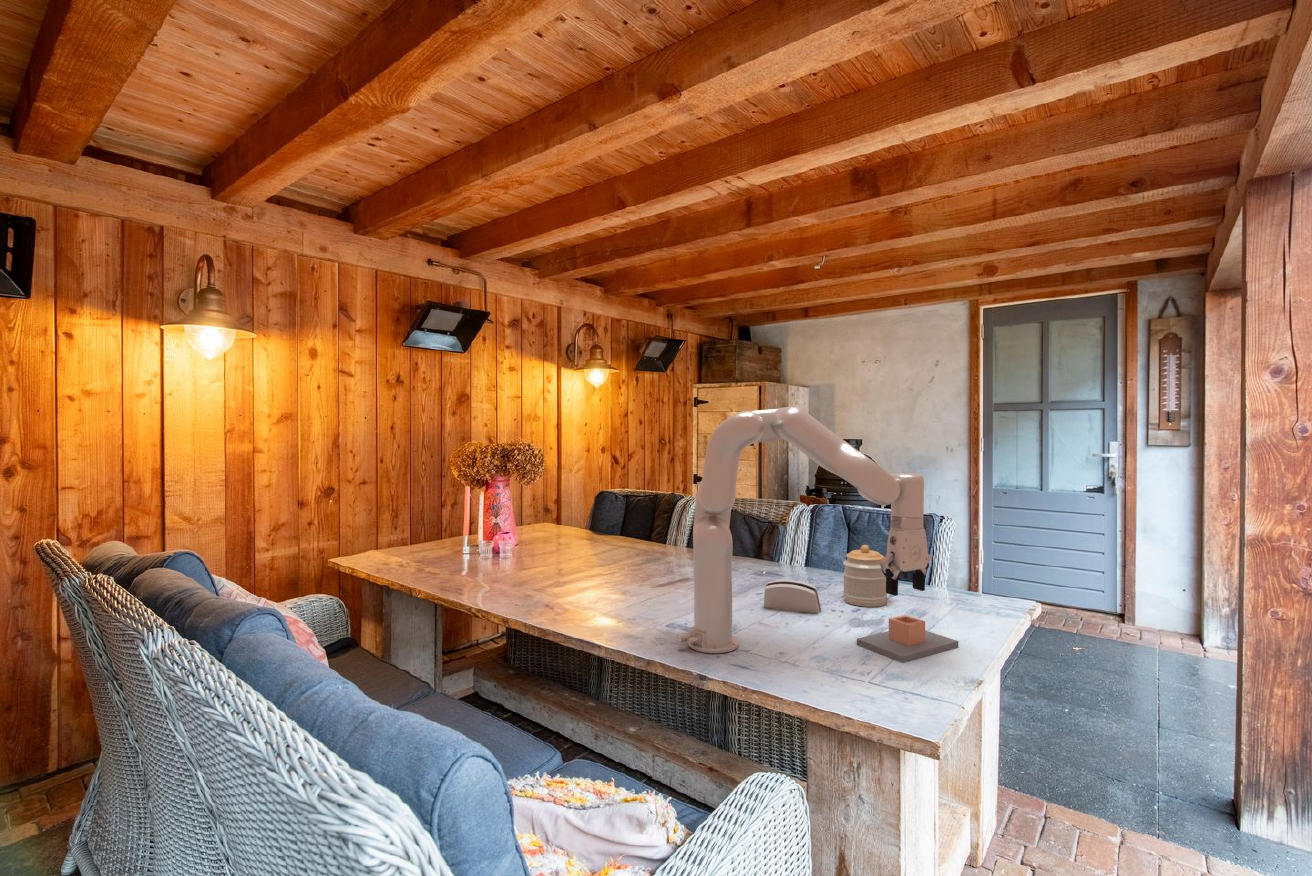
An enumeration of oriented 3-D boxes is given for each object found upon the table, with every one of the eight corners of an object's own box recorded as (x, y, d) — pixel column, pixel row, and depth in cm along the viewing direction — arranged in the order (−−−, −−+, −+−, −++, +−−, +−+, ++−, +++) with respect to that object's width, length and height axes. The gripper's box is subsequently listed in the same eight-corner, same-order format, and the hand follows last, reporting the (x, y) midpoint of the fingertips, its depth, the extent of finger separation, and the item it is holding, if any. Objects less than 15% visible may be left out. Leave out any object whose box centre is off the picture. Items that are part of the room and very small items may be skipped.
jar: (873, 595, 206) (873, 540, 205) (895, 606, 193) (895, 548, 192) (835, 597, 203) (835, 542, 203) (855, 609, 191) (855, 550, 190)
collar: (908, 645, 155) (908, 625, 155) (888, 638, 160) (888, 618, 160) (925, 641, 158) (925, 621, 158) (905, 634, 163) (905, 615, 163)
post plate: (902, 662, 148) (902, 639, 148) (856, 644, 160) (856, 622, 160) (958, 647, 158) (958, 625, 158) (911, 631, 170) (911, 610, 170)
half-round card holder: (822, 608, 191) (820, 580, 188) (819, 618, 187) (817, 589, 184) (767, 602, 198) (764, 575, 194) (763, 611, 194) (760, 583, 190)
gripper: (894, 528, 151) (893, 600, 151) (943, 523, 159) (941, 591, 160) (870, 523, 157) (868, 592, 158) (917, 518, 166) (916, 584, 166)
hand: (905, 592), depth 159 cm, fingers open, 9 cm apart
